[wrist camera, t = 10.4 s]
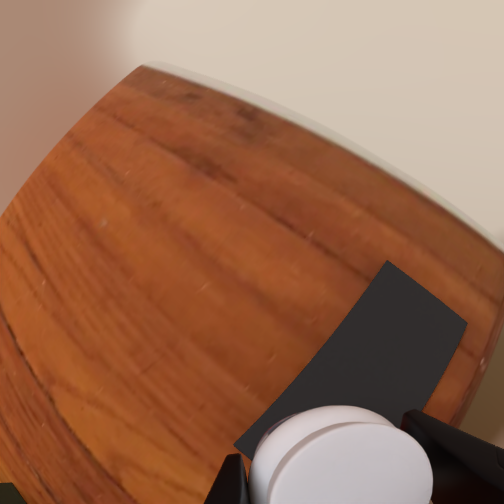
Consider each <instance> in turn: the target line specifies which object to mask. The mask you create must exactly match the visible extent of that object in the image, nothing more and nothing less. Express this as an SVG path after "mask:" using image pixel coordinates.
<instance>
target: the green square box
mask: <svg viewBox="0 0 504 504" xmlns="http://www.w3.org/2000/svg"><path fill="white" fill-rule="evenodd" d="M0 504H26V502H25V501H24V500H23V498H22V497H21V495H20V494H19V493H18V491H17V490H16V488H15V487H14V485H13V484H12V483H0Z"/></svg>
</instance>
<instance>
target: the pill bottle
mask: <svg viewBox="0 0 504 504" xmlns="http://www.w3.org/2000/svg"><path fill="white" fill-rule="evenodd" d="M432 486H433V474H432V469H431V465H430V462H429V459H428V457H427V454H426V453H425V451H424V449H423V448H422V447H421V445H420V444H419V443H418V442H417V441H416V440H415V439H414V438H413V437H411V436H410V435H409V434H407V433H405V432H404V431H402V430H400V429H397V428H396V427H395V426H394V425H393V424H392V423H390V422H389V421H388V420H387V419H385V418H384V417H382V416H381V415H379V414H377V413H375V412H372V411H370V410H367V409H364V408H360V407H355V406H342V405H340V406H323V407H318V408H314V409H310V410H307V411H304V412H300V413H297V414H293V415H291V416H288V417H286V418H284V419H282V420H281V421H279V422H277V423H276V424H275V425H273V426H272V427H271V428H270V429H269V430H268V431H267V432H266V433H265V434H264V436H263V437H262V438H261V440H260V442H259V444H258V446H257V448H256V451H255V454H254V458H253V460H252V463H251V466H250V470H249V475H248V491H249V497H250V503H251V504H429V501H430V498H431V495H432Z"/></svg>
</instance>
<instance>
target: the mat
mask: <svg viewBox="0 0 504 504" xmlns="http://www.w3.org/2000/svg"><path fill="white" fill-rule="evenodd" d="M467 324H468V323H467V322H466V321H465V320H464V319H462V318H461V317H460V316H459V315H457V314H456V313H455V312H454V311H453V310H451V309H450V308H449V307H448V306H446V305H445V304H444V303H443V302H441V301H440V300H439V299H438V298H436V297H435V296H434V295H433V294H431V293H430V292H429V291H427V290H426V289H425V288H424V287H422V286H421V285H420V284H418V283H417V282H416V281H415V280H413V279H412V278H411V277H409V276H408V275H407V274H405V273H404V272H403V271H401V270H400V269H399V268H397V267H396V266H395V265H393V264H392V263H391V262H389V261H388V260H387V261H386V262H385V264H384V265H383V266H382V268H381V269H380V271H379V272H378V274H377V275H376V277H375V278H374V279H373V281H372V282H371V284H370V285H369V286H368V288H367V289H366V291H365V292H364V293H363V295H362V296H361V297H360V299H359V300H358V301H357V303H356V304H355V306H354V307H353V308H352V310H351V311H350V312H349V314H348V315H347V316H346V317H345V319H344V320H343V321H342V323H341V324H340V325H339V326H338V328H337V329H336V330H335V332H334V333H333V334H332V335H331V337H330V338H329V339H328V340H327V342H326V343H325V344H324V345H323V347H322V348H321V349H320V350H319V351H318V353H317V354H316V355H315V356H314V357H313V359H312V360H311V361H310V362H309V363H308V365H307V366H306V367H305V368H304V369H303V370H302V372H301V373H300V374H299V375H298V376H297V377H296V379H295V380H294V381H293V382H292V383H291V384H290V385H289V386H288V388H287V389H286V390H285V391H284V392H283V393H282V394H281V395H280V396H279V398H278V399H277V400H276V401H275V402H274V403H273V404H272V405H271V406H270V407H269V408H268V409H267V411H266V412H265V413H264V414H263V415H262V416H261V417H260V418H259V419H258V420H257V421H256V422H255V423H254V424H253V425H252V426H251V427H250V428H249V429H248V430H247V431H246V432H245V433H244V434H243V435H242V436H241V437H240V438H239V439H238V440H237V441H236V442H235V443H234V444H233V445H234V446H235V447H236V448H237V449H238V450H239V451H241V452H242V453H243V454H244V455H246V456H247V457H248V458H249V459H250V460H253V458H254V454H255V451H256V448H257V446H258V444H259V442H260V440H261V438H262V437H263V436H264V434H265V433H266V432H267V431H268V430H269V429H270V428H271V427H272V426H273V425H275V424H276V423H277V422H279V421H281V420H282V419H284V418H286V417H288V416H291V415H293V414H297V413H300V412H304V411H307V410H310V409H314V408H318V407H323V406H340V405H342V406H355V407H360V408H364V409H367V410H370V411H372V412H375V413H377V414H379V415H381V416H382V417H384V418H385V419H387V420H388V421H389V422H390V423H392V424H393V425H394V426H395V427H396V428H397V429H400V426H401V421H402V417H403V414H404V413H405V412H407V411H410V410H413V409H416V410H419V411H422V409H423V407H424V406H425V404H426V402H427V401H428V399H429V398H430V396H431V394H432V392H433V391H434V389H435V387H436V386H437V384H438V382H439V380H440V378H441V377H442V375H443V373H444V371H445V369H446V367H447V365H448V363H449V362H450V360H451V358H452V356H453V354H454V352H455V350H456V348H457V346H458V343H459V341H460V339H461V337H462V335H463V333H464V331H465V328H466V326H467Z"/></svg>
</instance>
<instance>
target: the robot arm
mask: <svg viewBox="0 0 504 504" xmlns="http://www.w3.org/2000/svg"><path fill="white" fill-rule="evenodd" d="M400 430H402V431H404V432H405V433H407V434H409V435H410V436H411V437H413V438H414V439H415V440H416V441H417V442H418V443H419V444H420V445H421V447H422V448H423V449H424V451H425V453H426V454H427V457H428V459H429V462H430V465H431V469H432V474H433V486H432V495H431V498H430V499H431V500H432V502H433V504H504V449H502V448H500V447H498V446H495V445H493V444H490V443H488V442H486V441H483V440H481V439H479V438H476V437H474V436H472V435H470V434H468V433H465V432H463V431H461V430H459V429H457V428H454V427H452V426H450V425H448V424H446V423H444V422H442V421H439V420H437V419H435V418H433V417H431V416H429V415H427V414H425V413H423V412H421V411H419V410H416V409H413V410H410V411H407V412H405V413H404V414H403V417H402V421H401V426H400ZM204 504H251V503H250V497H249V491H248V483H247V477H246V471H245V467H244V463H243V460H242V456H241V454H239V453H237V454H229V455H227V456H226V458H225V460H224V462H223V464H222V467H221V469H220V471H219V473H218V475H217V477H216V479H215V481H214V483H213V485H212V487H211V489H210V492H209V494H208V496H207V498H206V500H205V502H204Z"/></svg>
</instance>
